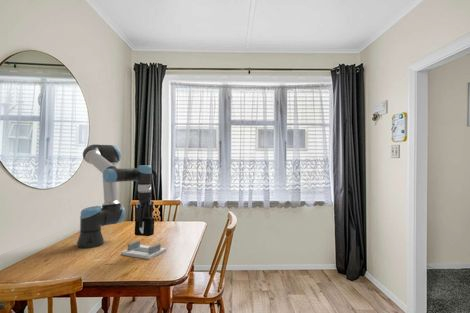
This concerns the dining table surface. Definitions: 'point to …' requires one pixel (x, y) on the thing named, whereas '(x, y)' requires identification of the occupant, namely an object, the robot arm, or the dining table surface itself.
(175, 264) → the dining table surface
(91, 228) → the robot arm
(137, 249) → the mounting board
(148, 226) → the electronic device
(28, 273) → the dining table surface
